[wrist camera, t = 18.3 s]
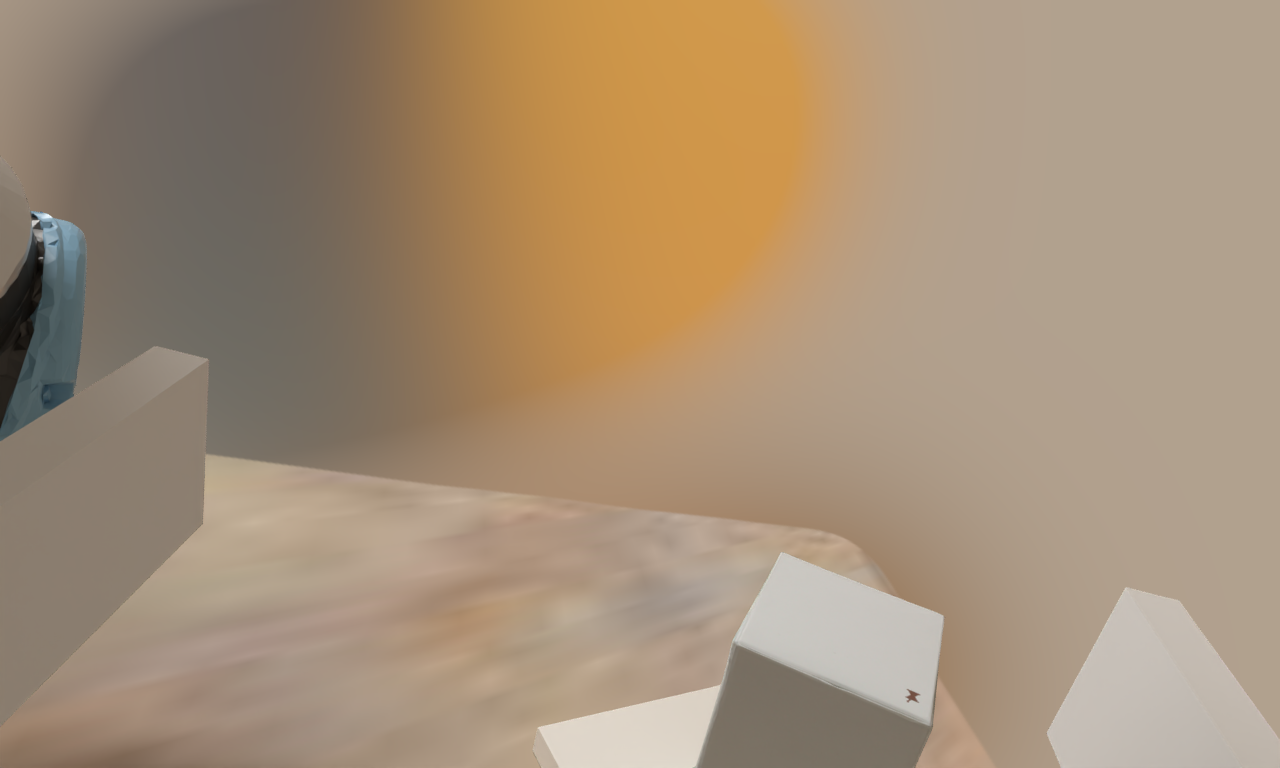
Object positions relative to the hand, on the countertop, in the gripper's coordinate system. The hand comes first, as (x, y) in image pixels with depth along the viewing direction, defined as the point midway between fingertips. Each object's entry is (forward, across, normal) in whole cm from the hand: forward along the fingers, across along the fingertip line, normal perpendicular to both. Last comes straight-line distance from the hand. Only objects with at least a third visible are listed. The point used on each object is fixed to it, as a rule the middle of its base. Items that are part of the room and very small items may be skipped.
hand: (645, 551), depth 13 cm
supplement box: (+18, +9, -26) cm, 33 cm away
